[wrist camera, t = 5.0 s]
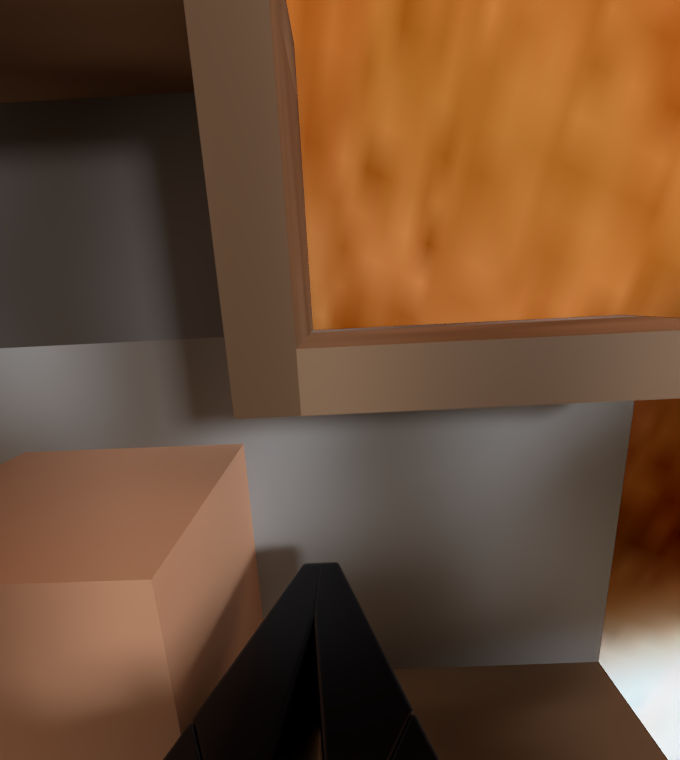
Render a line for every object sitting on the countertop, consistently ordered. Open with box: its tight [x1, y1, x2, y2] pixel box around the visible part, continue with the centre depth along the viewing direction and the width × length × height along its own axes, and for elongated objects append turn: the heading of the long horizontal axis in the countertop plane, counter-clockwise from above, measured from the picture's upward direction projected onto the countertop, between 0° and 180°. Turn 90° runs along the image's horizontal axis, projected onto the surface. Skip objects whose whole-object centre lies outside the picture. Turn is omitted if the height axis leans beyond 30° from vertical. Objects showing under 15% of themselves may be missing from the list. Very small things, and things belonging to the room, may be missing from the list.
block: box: [0, 444, 263, 760], centre depth 7 cm, size 5×5×4 cm
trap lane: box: [0, 0, 680, 760], centre depth 8 cm, size 23×21×3 cm
